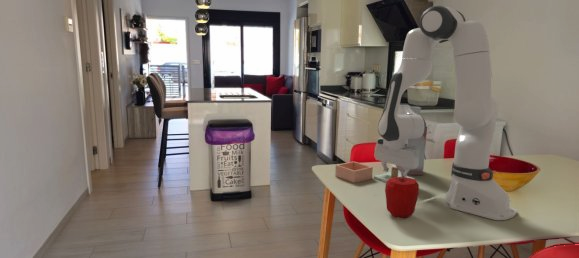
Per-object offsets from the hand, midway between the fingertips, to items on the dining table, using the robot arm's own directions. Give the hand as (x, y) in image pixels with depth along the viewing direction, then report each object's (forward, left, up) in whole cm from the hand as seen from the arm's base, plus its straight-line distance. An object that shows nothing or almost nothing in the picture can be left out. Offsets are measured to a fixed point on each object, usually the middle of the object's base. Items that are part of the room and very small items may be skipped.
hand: (394, 174), depth 158 cm
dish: (+12, +12, -3) cm, 17 cm away
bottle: (+5, -17, -3) cm, 18 cm away
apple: (-24, +28, -3) cm, 37 cm away
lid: (0, 0, -2) cm, 2 cm away
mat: (0, 0, -3) cm, 3 cm away
